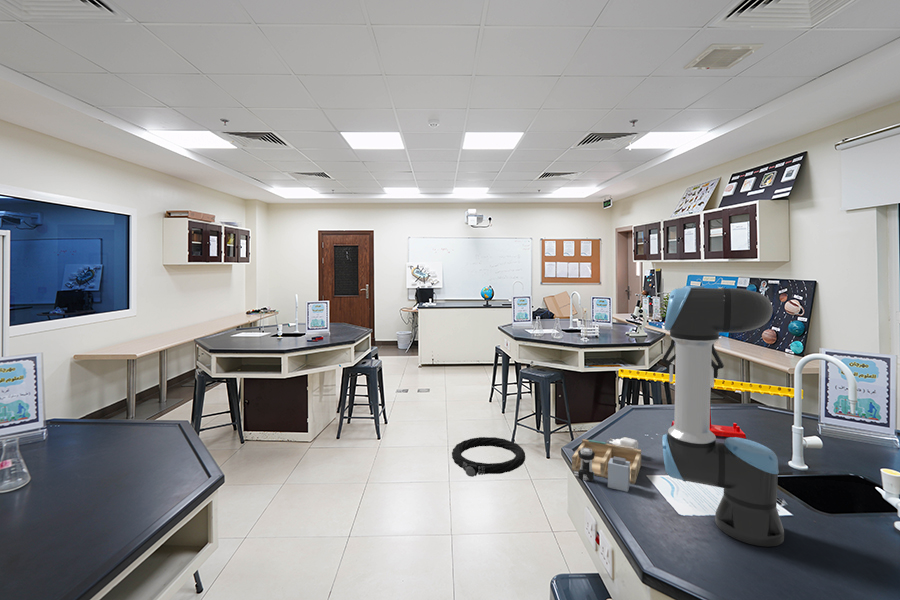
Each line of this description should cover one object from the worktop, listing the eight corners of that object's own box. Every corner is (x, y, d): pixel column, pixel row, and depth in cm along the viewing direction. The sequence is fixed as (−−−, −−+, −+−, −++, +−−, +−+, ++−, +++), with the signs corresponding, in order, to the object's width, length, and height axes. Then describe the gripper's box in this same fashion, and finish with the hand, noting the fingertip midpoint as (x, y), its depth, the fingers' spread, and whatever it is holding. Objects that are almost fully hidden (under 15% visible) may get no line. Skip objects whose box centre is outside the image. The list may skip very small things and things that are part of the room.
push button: (571, 479, 145) (572, 450, 144) (576, 472, 149) (576, 444, 148) (592, 484, 141) (592, 454, 140) (596, 477, 145) (596, 448, 145)
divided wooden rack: (634, 484, 141) (634, 465, 140) (571, 470, 151) (571, 453, 151) (640, 465, 154) (641, 448, 154) (582, 453, 164) (583, 438, 164)
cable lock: (534, 442, 167) (508, 475, 141) (534, 452, 168) (508, 486, 141) (470, 431, 180) (434, 458, 154) (470, 440, 181) (434, 469, 154)
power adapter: (605, 450, 168) (605, 435, 167) (610, 446, 171) (611, 432, 170) (633, 458, 159) (634, 443, 159) (639, 454, 163) (639, 439, 162)
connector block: (627, 491, 136) (628, 463, 135) (607, 487, 139) (607, 459, 138) (629, 485, 140) (630, 458, 139) (610, 481, 143) (610, 454, 142)
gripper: (733, 328, 156) (731, 386, 157) (657, 324, 170) (656, 377, 172) (731, 331, 150) (730, 391, 151) (653, 326, 164) (652, 381, 166)
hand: (691, 384), depth 161 cm, fingers open, 13 cm apart
